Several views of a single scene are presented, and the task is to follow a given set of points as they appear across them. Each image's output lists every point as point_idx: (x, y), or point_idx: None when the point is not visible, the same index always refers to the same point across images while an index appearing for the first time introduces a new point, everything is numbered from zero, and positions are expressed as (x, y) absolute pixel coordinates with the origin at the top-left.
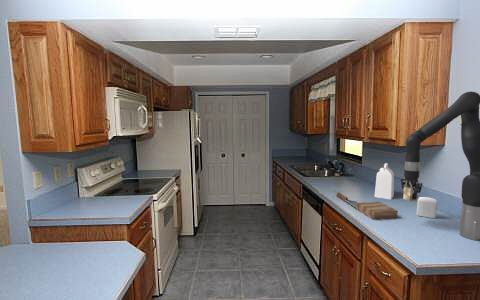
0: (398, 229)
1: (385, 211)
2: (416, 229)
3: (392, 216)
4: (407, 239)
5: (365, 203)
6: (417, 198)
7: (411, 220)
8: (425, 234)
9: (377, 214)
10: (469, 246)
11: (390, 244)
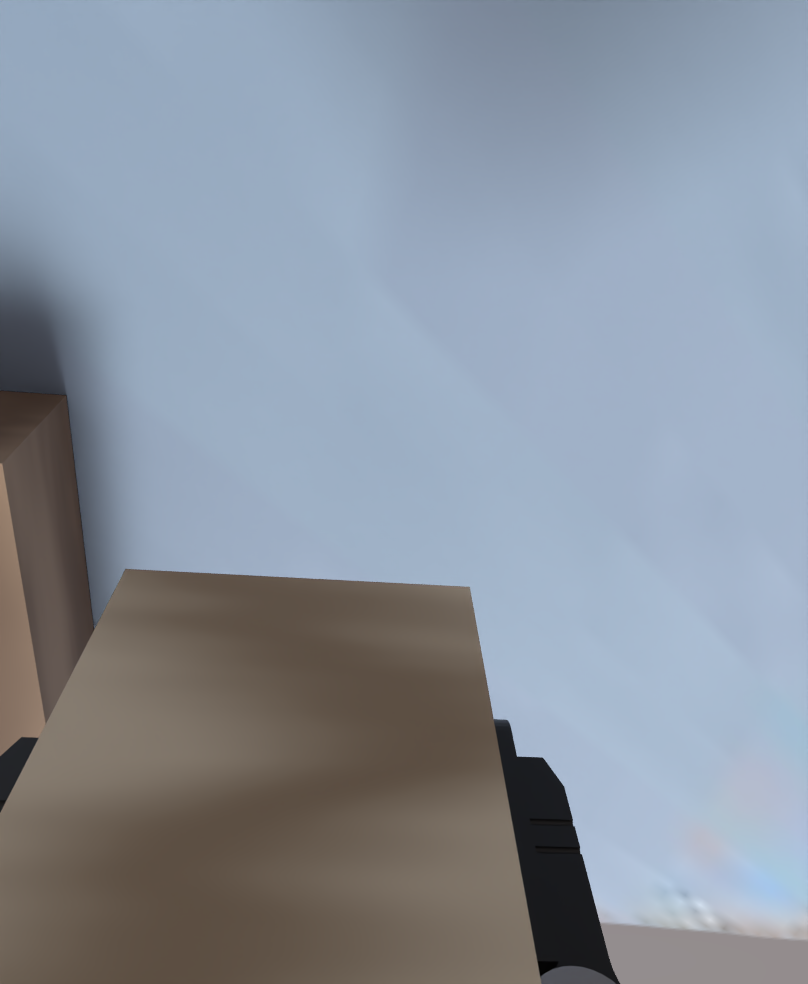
0: None
1: (42, 693)
2: (566, 460)
3: (61, 502)
4: (732, 760)
5: None
6: (478, 648)
7: (201, 207)
8: (743, 480)
9: None
10: None
11: (729, 929)
